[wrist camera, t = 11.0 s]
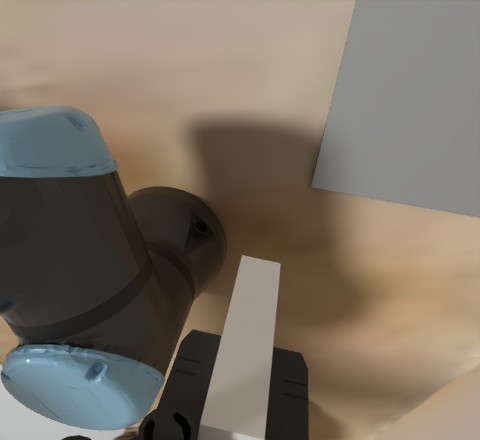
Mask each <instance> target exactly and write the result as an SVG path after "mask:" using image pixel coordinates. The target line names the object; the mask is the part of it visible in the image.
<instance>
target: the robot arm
mask: <svg viewBox="0 0 480 440" xmlns="http://www.w3.org/2000/svg"><path fill="white" fill-rule="evenodd" d="M117 169H118V164H117V162H116V160H114V159H113V158H112V156H111V154H110V152H109V150H108V148H107V145H106V143H105V141H104V139H103V137H102V134H101V132H100V130H99V128H98V126H97V124H96V122H95V121H94V120H93V119H92V117H90V116H89V115H88V114H87V113H85V112H83V111H82V110H79V109H77V108H73V107H66V106H53V107H37V108H26V109H16V110H8V111H0V315H2V317H3V318H4V319H5V320H6V322H7V323H8V325H9V326H10V327H11V329H12V331H13V332H14V334H15V335H16V337H17V338H18V340H19V344H18V346H17V347H16V348H14V349H12V350H11V351H10V352H9V353H8V354H7V356H6V361H5V362H4V364H3V366H2V371H1V380H2V383H3V384H4V386H5V388H6V389H7V391H8V392H9V393H10V394H11V395H12V396H13V397H14V398H15V399H16V400H18V401H19V402H20V403H22V404H23V405H25V406H26V407H28V408H30V409H31V410H33V411H35V412H36V413H39V414H41V415H43V416H45V417H47V418H50V419H52V420H55V421H58V422H60V423H64V424H67V425H70V426H75V427H79V428H84V429H91V430H118V429H123V428H127V427H129V426H132V425H134V424H135V423H137V422H138V421H139V420H141V419H142V418H144V417H145V416H146V415H147V413H148V412H149V410H150V408H151V406H152V404H153V403H154V401H155V399H156V397H157V395H158V393H159V391H160V389H161V388H162V386H163V385H164V382H165V378H164V377H165V374H166V372H167V369H168V367H169V364H170V361H171V359H172V356H173V353H174V351H175V348H176V345H177V343H178V340H179V338H180V335H181V332H182V330H183V327H184V324H185V322H186V319H187V317H188V314H189V311H190V309H191V306H192V303H193V301H194V300H195V299H196V298H197V297H198V296H199V295H200V294H201V293H202V292H203V291H204V290H205V289H206V288H207V287H208V286H209V285H210V284H211V283H212V282H213V281H214V280H215V278H216V277H217V275H218V274H219V272H220V270H221V267H222V264H223V261H224V258H225V255H226V237H225V233H224V230H223V228H222V226H221V224H220V222H219V220H218V219H217V217H216V216H215V214H214V213H213V212H212V211H211V210H210V209H209V208H208V207H207V206H206V205H205V204H204V203H202V202H201V201H200V200H198V199H197V198H195V197H193V196H192V195H190V194H188V193H185V192H183V191H180V190H177V189H173V188H168V187H149V188H144V189H141V190H138V191H136V192H134V193H132V194H130V195H129V196H127V195H126V193H125V190H124V187H123V185H122V182H121V180H120V177H119V174H118V172H117ZM280 266H281V263H276V262H272V261H267V260H262V259H258V258H253V257H249V256H244V255H242V258H241V262H240V266H239V270H238V274H237V278H236V282H235V286H234V290H233V294H232V298H231V302H230V306H229V310H228V314H227V318H226V322H225V326H224V330H223V334H222V336H219V335H215V334H210V333H206V332H202V331H197V330H192V331H191V332H190V333H189V334H188V335H187V336H186V337H185V338H184V339H183V340H182V341H181V344H180V347H179V350H178V352H177V355H176V358H175V360H174V363H173V366H172V369H171V371H170V374H169V377H168V379H167V382H166V385H165V388H164V390H163V393H162V396H161V399H160V401H159V404H158V407H157V409H154V410H153V411H152V412H151V413H149V414H148V415H147V416H146V417H145V418H144V420H143V421H142V423H141V424H140V426H139V435H138V436H136V437H134V438H132V439H130V440H309V436H308V368H307V366H306V363H305V361H304V359H303V356H302V354H301V353H297V352H293V351H289V350H284V349H280V348H276V347H273V342H274V332H275V321H276V310H277V299H278V288H279V277H280ZM62 440H91V439H90V438H87V437H84V436H80V435H78V436H70V437H66V438H64V439H62Z"/></svg>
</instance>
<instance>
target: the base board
mask: <svg viewBox="0 0 480 440" xmlns="http://www.w3.org/2000/svg"><path fill="white" fill-rule="evenodd" d="M311 188H316V189H322V190H327V191H333V192H339V193H344V194H350V195H355V196H361V197H367V198H372V199H378V200H384V201H389V202H395V203H400V204H406V205H412V206H417V207H423V208H429V209H434V210H440V211H445V212H451V213H457V214H462V215H468V216H474V217H479V218H480V0H356V4H355V8H354V12H353V16H352V21H351V25H350V29H349V33H348V37H347V41H346V45H345V49H344V53H343V57H342V61H341V65H340V69H339V73H338V77H337V81H336V86H335V90H334V94H333V98H332V102H331V106H330V110H329V114H328V118H327V122H326V126H325V130H324V134H323V138H322V142H321V147H320V151H319V155H318V159H317V163H316V167H315V171H314V175H313V179H312V183H311Z"/></svg>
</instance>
